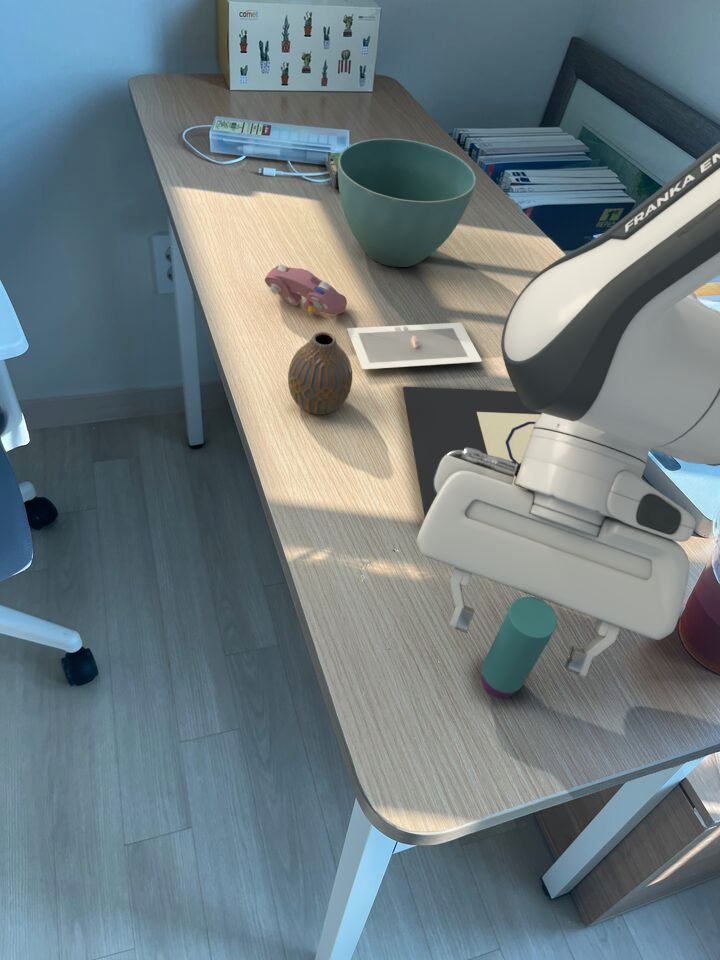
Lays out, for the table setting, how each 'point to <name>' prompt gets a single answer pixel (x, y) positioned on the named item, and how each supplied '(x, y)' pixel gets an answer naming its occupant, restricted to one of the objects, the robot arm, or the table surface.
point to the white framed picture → (412, 345)
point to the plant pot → (402, 197)
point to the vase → (320, 375)
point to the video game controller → (305, 290)
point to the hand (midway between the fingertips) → (515, 650)
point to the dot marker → (517, 646)
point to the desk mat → (464, 428)
